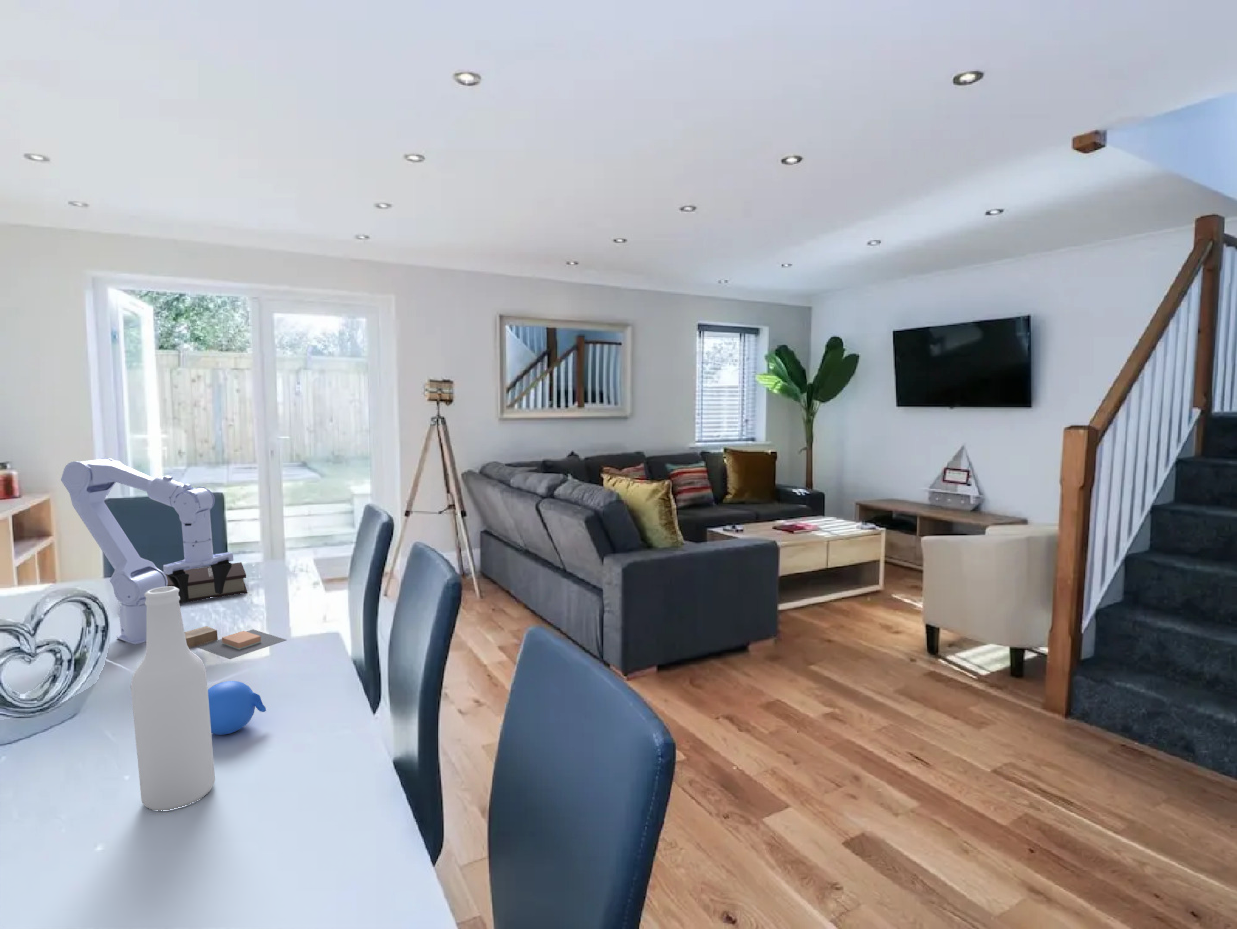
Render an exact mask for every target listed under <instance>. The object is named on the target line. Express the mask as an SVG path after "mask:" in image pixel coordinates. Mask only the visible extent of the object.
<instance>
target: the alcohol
mask: <svg viewBox="0 0 1237 929" xmlns="http://www.w3.org/2000/svg"><path fill="white" fill-rule="evenodd" d="M178 592H179V589H178V588H176V587H172V586H169V587H160V588H155V589H151V590H149V591H147V592H146V593H145V594H144V596H145V597H146V601H145V605H146V606H147V631H146V648H145V650H146V651H145V655H144V657H143V658H144V659H143V660H142V661H141V662H140V664H138V666H137V668H136V669H135V671H134V672H133V675H132V678H131V685H130V692H131V693H130V694H131V703H132V704H131V706H132V715H133V726H134V735H135V746H136V756H137V767H138V768H137V769H138V778H139V780H138V781H139V788H140V791H139V792H140V800H141V803H142V805H144V807H146V808H147V809H148V808H149V809H148V810H150V809H152V810H158V811H161V810H162V811H163V810H170V809H174V808H178V807H182V806H185V805H188V804H190V803H192V802H195V801H197V800H199V799H201V798H202V797H203V798H205V797H206V796H207V795H208V794H209V793H210V791H211V790H212V788H213V786H214V785H215V782H216V775H215V763H214V749H213V740H212V739H213V736H212V733H211V723H210V711H209V699H208V689H209V688H208V678H207V669H206V667H205V664H204V662H203V659H201V658H200V656H198V655H197V654H195V653H194V652H193V651H191V649H190V648H188V646H187V643H186V638H185V632H186V631H185V626H184V622H183V618H182V617H183V616H182V611H181V610H182V609H181V607H180V604H181V603H179V600H180V596H178ZM208 792H209V793H208ZM206 794H207V795H206ZM205 795H206V796H205ZM204 796H205V797H204ZM203 798H202V799H203ZM202 799H201V800H202ZM199 801H200V800H199ZM197 802H198V801H197ZM195 803H196V802H195ZM152 810H151V811H152Z"/></svg>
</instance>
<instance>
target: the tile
mask: <svg viewBox="0 0 1237 929" xmlns="http://www.w3.org/2000/svg"><path fill="white" fill-rule="evenodd" d="M246 631H247V630H246ZM246 631H245V630H242V631H238V632H235V633H232V634H229V635H226V636H225V635H224V636H222V637H221V639H222V644H224V645H227V646H230V647H233V648H236V649H239V650H240V649H243V648H246V647H249V646H252V645H255V644H258V643H261V636H259V635H255V634H252V633H249V632H246Z"/></svg>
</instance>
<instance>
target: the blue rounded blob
mask: <svg viewBox="0 0 1237 929" xmlns="http://www.w3.org/2000/svg"><path fill="white" fill-rule="evenodd" d="M208 699H209V711H210V723H211V735H219V736H224V735H229V734H232V733H235V732H237V731H240V730H241V729H243V728H244V727H245V726H246V725H248V723H249V722H250V721H251V719H252V718H253V715H254V714H255V709H256V710H258V711H259V712H260V713H266V711H267V709H266V708H267V707H266V706H265V705H264V704H263V701H262V698H261V696H260V695H259V694H258V693H256V692H254V691H253V690H252V688H251V687H250V686H249V685H247V684H246V683H244V682H241V681H237V680H227V681H222V682H219V683H216V684H215V685H212V686H211V687H209V688H208Z"/></svg>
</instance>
